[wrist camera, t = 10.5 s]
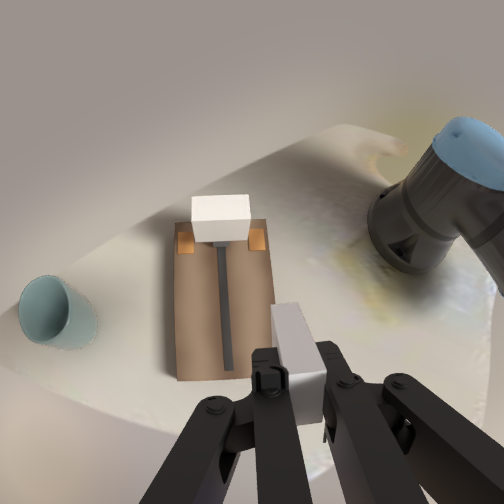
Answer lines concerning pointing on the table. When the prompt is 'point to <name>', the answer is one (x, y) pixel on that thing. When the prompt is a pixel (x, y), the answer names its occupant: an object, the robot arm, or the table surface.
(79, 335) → the cup
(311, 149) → the table surface
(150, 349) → the table surface
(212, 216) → the fader knob
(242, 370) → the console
